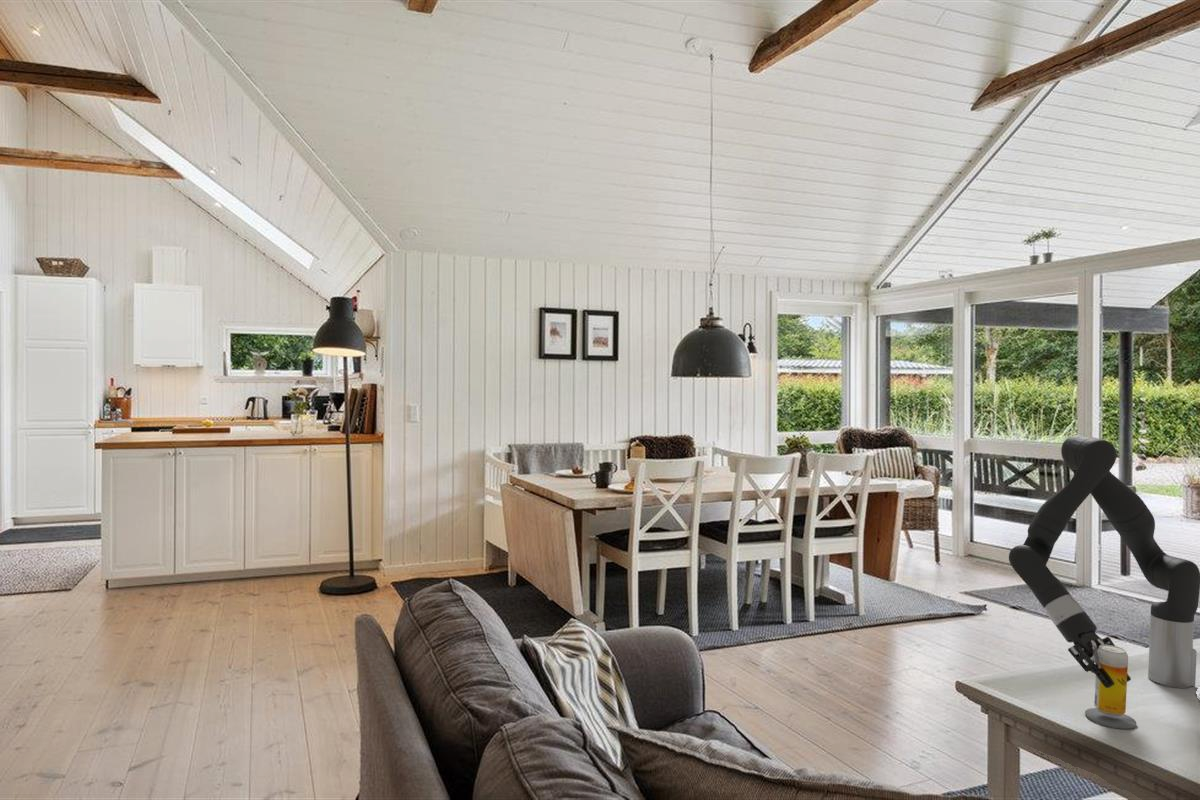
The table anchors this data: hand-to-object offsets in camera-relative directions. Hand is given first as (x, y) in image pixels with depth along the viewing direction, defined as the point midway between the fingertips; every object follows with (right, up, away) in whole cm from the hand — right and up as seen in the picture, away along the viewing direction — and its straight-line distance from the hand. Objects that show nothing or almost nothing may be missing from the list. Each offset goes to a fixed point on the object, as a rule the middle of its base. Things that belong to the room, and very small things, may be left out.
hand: (1118, 683), depth 176 cm
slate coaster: (-1, -9, +2) cm, 9 cm away
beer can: (-1, -7, +2) cm, 8 cm away
